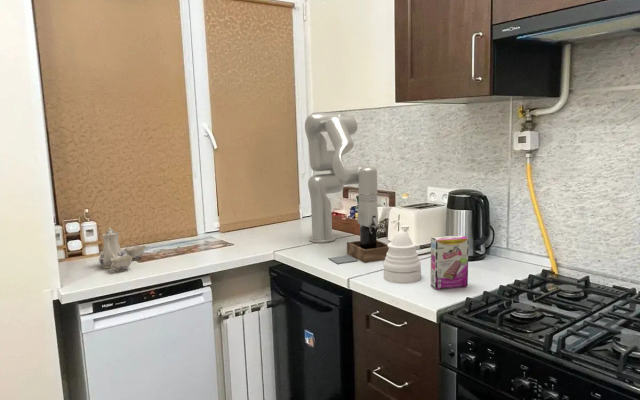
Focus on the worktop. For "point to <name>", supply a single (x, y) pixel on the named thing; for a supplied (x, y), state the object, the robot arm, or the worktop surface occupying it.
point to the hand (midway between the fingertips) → (368, 240)
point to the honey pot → (402, 259)
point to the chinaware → (118, 252)
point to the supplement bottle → (366, 238)
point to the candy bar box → (449, 262)
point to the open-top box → (367, 252)
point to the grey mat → (343, 259)
